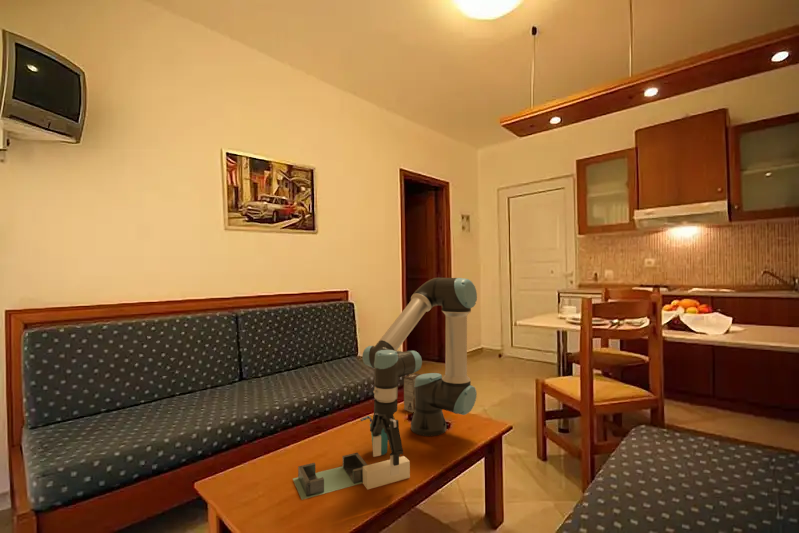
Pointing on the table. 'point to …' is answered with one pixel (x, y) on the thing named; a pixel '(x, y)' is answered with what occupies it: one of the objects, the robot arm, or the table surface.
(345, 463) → the grey u-shaped bracket
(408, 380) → the coffee box
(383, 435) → the cup
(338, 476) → the mat
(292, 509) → the table surface
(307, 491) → the cap
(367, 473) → the slat
